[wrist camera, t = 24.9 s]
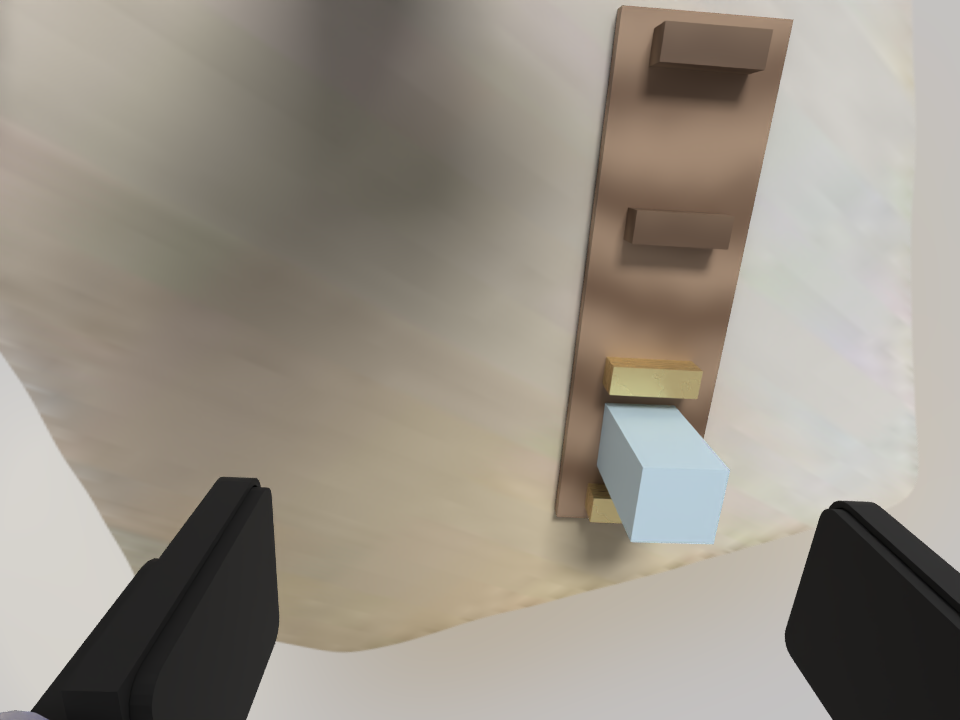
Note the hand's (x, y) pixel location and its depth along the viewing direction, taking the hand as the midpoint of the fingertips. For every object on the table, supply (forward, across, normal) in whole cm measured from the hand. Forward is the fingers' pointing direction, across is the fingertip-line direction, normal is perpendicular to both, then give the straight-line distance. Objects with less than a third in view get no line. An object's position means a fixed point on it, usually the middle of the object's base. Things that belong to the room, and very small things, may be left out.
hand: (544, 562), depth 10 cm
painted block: (+29, -12, +12) cm, 34 cm away
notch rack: (+30, -12, +2) cm, 33 cm away
